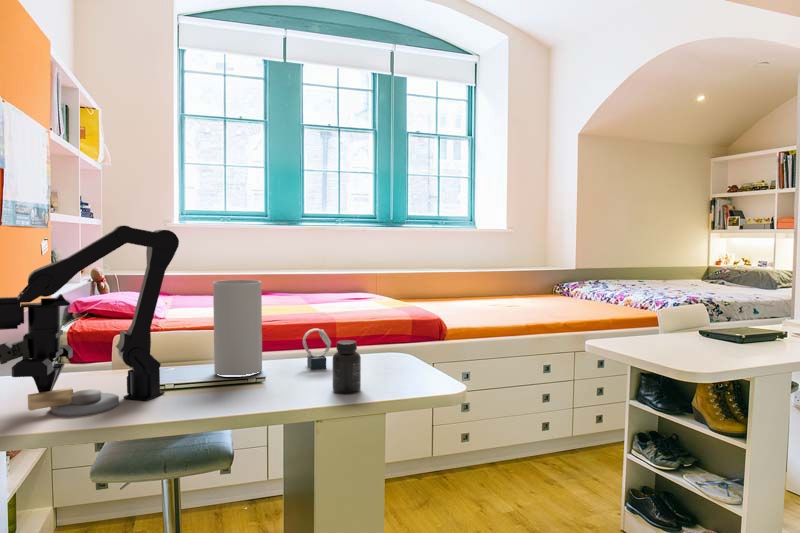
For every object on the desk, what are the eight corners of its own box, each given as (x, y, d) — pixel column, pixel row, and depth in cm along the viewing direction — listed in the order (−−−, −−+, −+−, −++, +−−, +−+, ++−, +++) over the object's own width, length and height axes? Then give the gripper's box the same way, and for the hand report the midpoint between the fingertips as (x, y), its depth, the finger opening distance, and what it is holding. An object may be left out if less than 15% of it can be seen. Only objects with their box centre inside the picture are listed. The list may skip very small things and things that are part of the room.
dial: (96, 394, 127) (96, 380, 126) (104, 400, 122) (104, 386, 122) (26, 407, 117) (25, 392, 117) (31, 414, 113) (31, 398, 113)
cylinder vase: (205, 377, 148) (203, 283, 146) (229, 366, 160) (228, 279, 158) (248, 380, 145) (247, 284, 143) (270, 369, 157) (269, 280, 155)
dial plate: (132, 400, 127) (131, 394, 127) (87, 419, 115) (87, 412, 114) (84, 396, 130) (84, 390, 130) (35, 413, 118) (35, 407, 118)
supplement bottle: (356, 385, 141) (356, 338, 140) (363, 393, 134) (363, 343, 133) (330, 387, 138) (330, 340, 138) (335, 395, 132) (335, 345, 131)
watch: (333, 368, 158) (333, 329, 158) (304, 370, 156) (304, 331, 155) (328, 363, 164) (328, 326, 163) (301, 365, 161) (301, 328, 160)
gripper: (17, 321, 125) (18, 389, 126) (-20, 336, 107) (-19, 415, 108) (73, 320, 128) (73, 387, 129) (46, 334, 110) (46, 412, 111)
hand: (44, 399), depth 119 cm, fingers closed
